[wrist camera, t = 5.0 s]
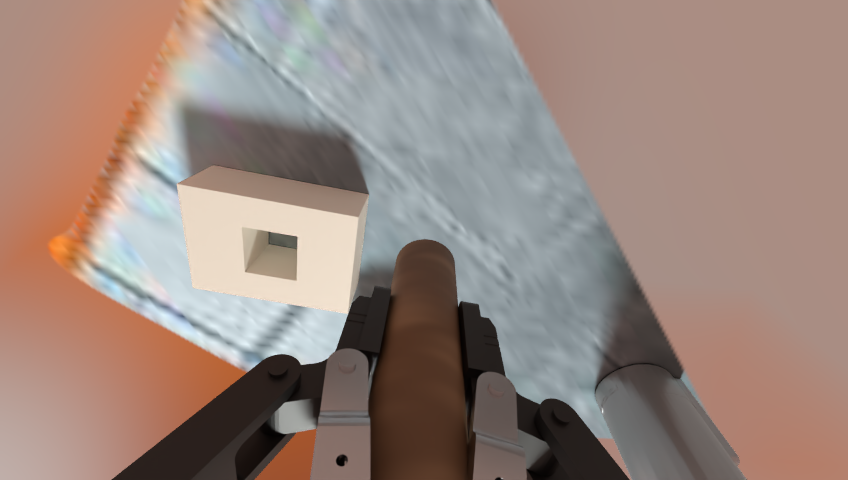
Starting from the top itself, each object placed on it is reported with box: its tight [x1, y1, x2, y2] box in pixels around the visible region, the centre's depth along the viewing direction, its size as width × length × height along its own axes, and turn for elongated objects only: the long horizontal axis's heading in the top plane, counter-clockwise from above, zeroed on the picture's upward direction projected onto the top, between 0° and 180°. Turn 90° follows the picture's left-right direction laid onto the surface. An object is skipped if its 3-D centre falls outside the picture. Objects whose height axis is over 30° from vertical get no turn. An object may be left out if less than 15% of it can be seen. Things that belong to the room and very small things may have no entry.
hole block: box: [177, 165, 369, 314], centre depth 32 cm, size 14×10×5 cm
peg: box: [368, 239, 468, 480], centre depth 13 cm, size 3×3×12 cm
